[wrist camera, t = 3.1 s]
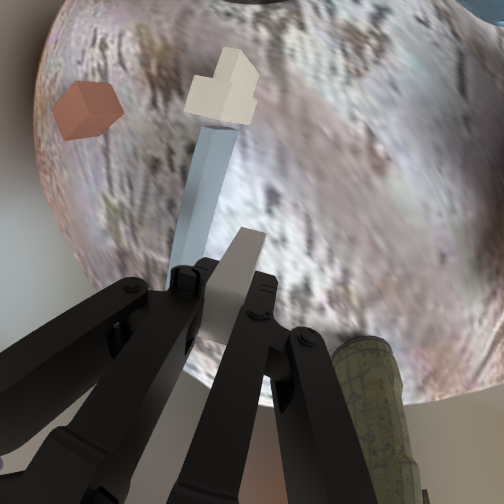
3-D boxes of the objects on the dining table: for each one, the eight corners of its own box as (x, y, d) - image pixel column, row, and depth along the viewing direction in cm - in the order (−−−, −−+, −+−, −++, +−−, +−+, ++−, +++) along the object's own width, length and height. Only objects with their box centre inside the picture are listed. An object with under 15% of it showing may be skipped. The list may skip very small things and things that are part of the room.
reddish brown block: (86, 107, 25) (51, 109, 20) (110, 84, 24) (75, 80, 18) (99, 135, 27) (64, 141, 21) (124, 113, 25) (89, 113, 20)
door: (226, 126, 24) (198, 125, 17) (240, 130, 24) (217, 130, 17) (189, 266, 31) (160, 303, 24) (200, 271, 31) (174, 309, 24)
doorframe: (241, 70, 22) (207, 38, 13) (266, 76, 22) (245, 45, 13) (177, 309, 34) (142, 363, 25) (194, 316, 34) (164, 372, 25)
